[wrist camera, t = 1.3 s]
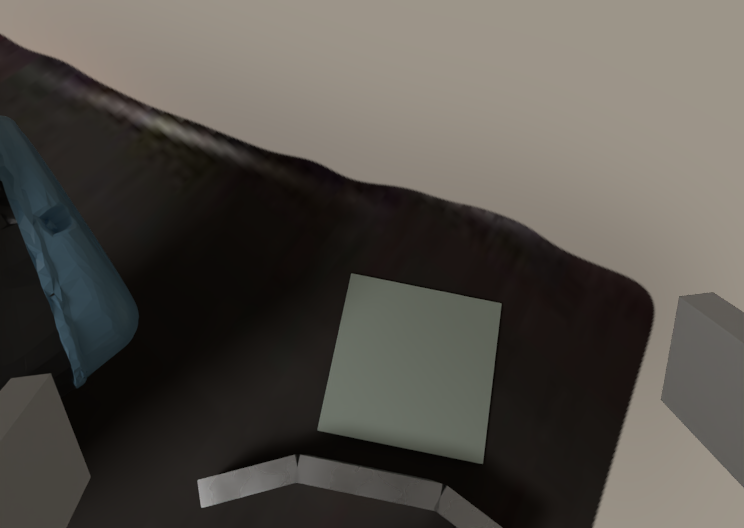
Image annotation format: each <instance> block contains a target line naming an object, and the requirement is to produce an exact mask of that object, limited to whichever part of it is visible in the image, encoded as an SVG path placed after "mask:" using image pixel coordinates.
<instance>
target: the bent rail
mask: <svg viewBox="0 0 744 528" xmlns="http://www.w3.org/2000/svg"><path fill="white" fill-rule="evenodd" d="M197 481H198V488H199V495H200V503H201V508H203V507H207V506H211V505H215V504H218V503H222V502H226V501H229V500H233V499H237V498H241V497H244V496H248V495H252V494H255V493H259V492H263V491H267V490H270V489H274V488H278V487H282V486H285V485H289V484H293V483H296V482H297V483H302V484H307V485H312V486H316V487H321V488H326V489H331V490H336V491H341V492H346V493H351V494H355V495H360V496H365V497H370V498H375V499H380V500H385V501H390V502H394V503H399V504H404V505H409V506H414V507H419V508H424V509H429V510H433V511H435V512H436V513H438V514H439V515H440V516H442V517H443V518H444V519H446V520H447V521H448V522H449V523H451V524H452V525H453V526H455V527H456V528H502V527H501V526H500V525H498V524H497V523H496V522H494V521H493V520H492V519H490V518H489V517H488V516H486V515H485V514H484V513H483V512H481V511H480V510H479V509H477V508H476V507H475V506H473V505H472V504H471V503H469V502H468V501H467V500H465V499H464V498H463V497H461V496H460V495H459V494H458V493H456V492H455V491H454V490H452V489H451V488H450V487H448V486H447V485H444V484H442V483H439V482H436V481H433V480H431V479H426V478H421V477H416V476H412V475H407V474H402V473H397V472H392V471H387V470H382V469H377V468H372V467H368V466H363V465H358V464H353V463H348V462H343V461H338V460H333V459H328V458H323V457H319V456H314V455H309V454H296V455H292V456H288V457H284V458H280V459H276V460H272V461H269V462H265V463H261V464H257V465H253V466H250V467H246V468H242V469H238V470H234V471H230V472H227V473H223V474H219V475H215V476H211V477H208V478H204V479H200V480H197Z"/></svg>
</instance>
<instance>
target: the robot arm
mask: <svg viewBox="0 0 744 528" xmlns="http://www.w3.org/2000/svg"><path fill="white" fill-rule="evenodd" d="M138 319H139V314H138V309H137V305H136V303H135V301H134V299H133V297H132V295H131V294H130V292H129V290H128V288H127V287H126V285H125V283H124V282H123V280H122V278H121V277H120V275H119V273H118V272H117V270H116V269H115V267H114V266H113V264H112V262H111V261H110V259H109V258H108V256H107V255H106V253H105V251H104V250H103V248H102V247H101V245H100V244H99V242H98V241H97V239H96V237H95V236H94V234H93V233H92V231H91V230H90V228H89V227H88V225H87V224H86V222H85V221H84V219H83V218H82V216H81V215H80V213H79V212H78V210H77V209H76V207H75V206H74V204H73V203H72V201H71V200H70V198H69V197H68V195H67V194H66V192H65V191H64V189H63V188H62V186H61V185H60V183H59V182H58V180H57V179H56V178H55V176H54V175H53V173H52V172H51V170H50V169H49V167H48V166H47V164H46V163H45V162H44V160H43V159H42V157H41V156H40V154H39V153H38V152H37V150H36V149H35V147H34V146H33V145H32V143H31V142H30V141H29V139H28V138H27V137H26V136H25V134H23V133H22V131H21V130H20V129H19V127H18V126H17V124H16V123H15V122H14V121H13V120H12V119H10V118H9V117H6V116H0V528H66V527H67V525H68V523H69V521H70V519H71V517H72V515H73V513H74V511H75V509H76V507H77V504H78V502H79V500H80V498H81V496H82V494H83V492H84V490H85V488H86V486H87V484H88V482H89V480H90V478H91V476H90V473H89V471H88V468H87V466H86V463H85V460H84V458H83V455H82V453H81V450H80V447H79V445H78V442H77V440H76V437H75V435H74V432H73V429H72V427H71V424H70V422H69V419H68V416H67V414H66V411H65V409H64V406H63V403H62V401H61V398H62V397H64V396H65V395H66V394H68V393H69V392H71V391H72V390H74V389H76V388H79V387H80V386H82V385H83V384H84V383H85V382H86V380H87V377H88V376H89V375H91V374H92V373H93V372H94V371H96V370H97V369H98V368H99V367H101V366H102V365H103V364H104V363H105V362H107V361H108V360H109V359H110V358H112V357H113V356H114V355H115V354H117V353H118V352H119V351H120V350H122V349H123V348H124V347H125V346H127V345H128V343H129V342H130V341H131V340H132V338H133V336H134V334H135V332H136V330H137V327H138ZM661 400H662V401H663V402H664V403H665V404H666V405H667V407H668V408H669V409H670V410H671V411H672V412H673V413H674V414H675V415H676V416H677V417H678V418H679V419H680V420H681V421H682V422H683V424H684V425H685V426H686V427H687V428H688V429H689V430H690V431H691V432H692V433H693V434H694V435H695V436H696V437H697V438H698V440H700V442H701V443H702V444H703V445H704V446H705V447H706V448H707V449H708V450H709V451H710V452H711V453H712V454H713V455H714V457H716V459H717V460H718V461H719V462H720V463H721V464H722V465H723V466H724V467H725V468H726V469H727V470H728V471H729V472H730V473H731V474H732V476H733V477H734V478H735V479H736V480H737V481H738V482H739V483H740V484H741V485H742V486H743V487H744V313H743V312H742V311H741V310H739V309H738V308H736V307H735V306H733V305H731V304H730V303H728V302H727V301H725V300H724V299H722V298H721V297H719V296H718V295H716V294H715V293H703V294H695V295H687V296H680V297H679V301H678V307H677V312H676V318H675V324H674V329H673V335H672V340H671V346H670V352H669V358H668V363H667V369H666V374H665V380H664V386H663V391H662V397H661Z"/></svg>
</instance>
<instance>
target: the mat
mask: <svg viewBox="0 0 744 528" xmlns="http://www.w3.org/2000/svg"><path fill="white" fill-rule="evenodd" d="M501 305H502V303H497V302H492V301H487V300H482V299H477V298H472V297H467V296H462V295H457V294H452V293H447V292H442V291H437V290H432V289H427V288H422V287H417V286H412V285H407V284H402V283H397V282H392V281H387V280H382V279H377V278H372V277H367V276H362V275H357V274H352V273H351V277H350V281H349V286H348V291H347V295H346V300H345V304H344V309H343V314H342V318H341V323H340V328H339V332H338V337H337V341H336V346H335V351H334V355H333V360H332V365H331V369H330V374H329V378H328V383H327V388H326V392H325V397H324V402H323V406H322V411H321V415H320V420H319V425H318V429H317V431H322V432H327V433H332V434H337V435H342V436H347V437H352V438H356V439H361V440H366V441H371V442H376V443H381V444H386V445H391V446H396V447H401V448H406V449H410V450H415V451H420V452H425V453H430V454H435V455H440V456H445V457H450V458H455V459H459V460H464V461H469V462H474V463H479V464H483V459H484V451H485V442H486V434H487V425H488V416H489V408H490V399H491V391H492V382H493V374H494V365H495V356H496V348H497V339H498V331H499V322H500V314H501Z"/></svg>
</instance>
